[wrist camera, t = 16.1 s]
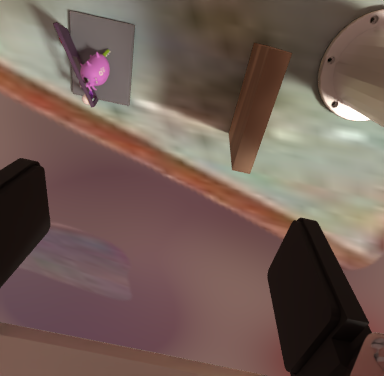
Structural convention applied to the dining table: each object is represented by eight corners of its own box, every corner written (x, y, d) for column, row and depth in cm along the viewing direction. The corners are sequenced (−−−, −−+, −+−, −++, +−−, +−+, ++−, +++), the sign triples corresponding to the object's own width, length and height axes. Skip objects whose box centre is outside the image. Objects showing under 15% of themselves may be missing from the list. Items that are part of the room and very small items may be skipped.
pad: (135, 25, 33) (133, 25, 33) (129, 104, 38) (128, 105, 38) (72, 11, 33) (69, 10, 33) (74, 92, 38) (72, 93, 38)
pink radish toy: (45, 25, 28) (85, 109, 32) (94, 10, 28) (126, 95, 32) (58, 31, 34) (91, 102, 38) (98, 19, 34) (125, 90, 38)
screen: (269, 46, 33) (292, 53, 23) (242, 136, 39) (249, 173, 29) (254, 42, 33) (269, 48, 23) (228, 133, 39) (232, 169, 29)
